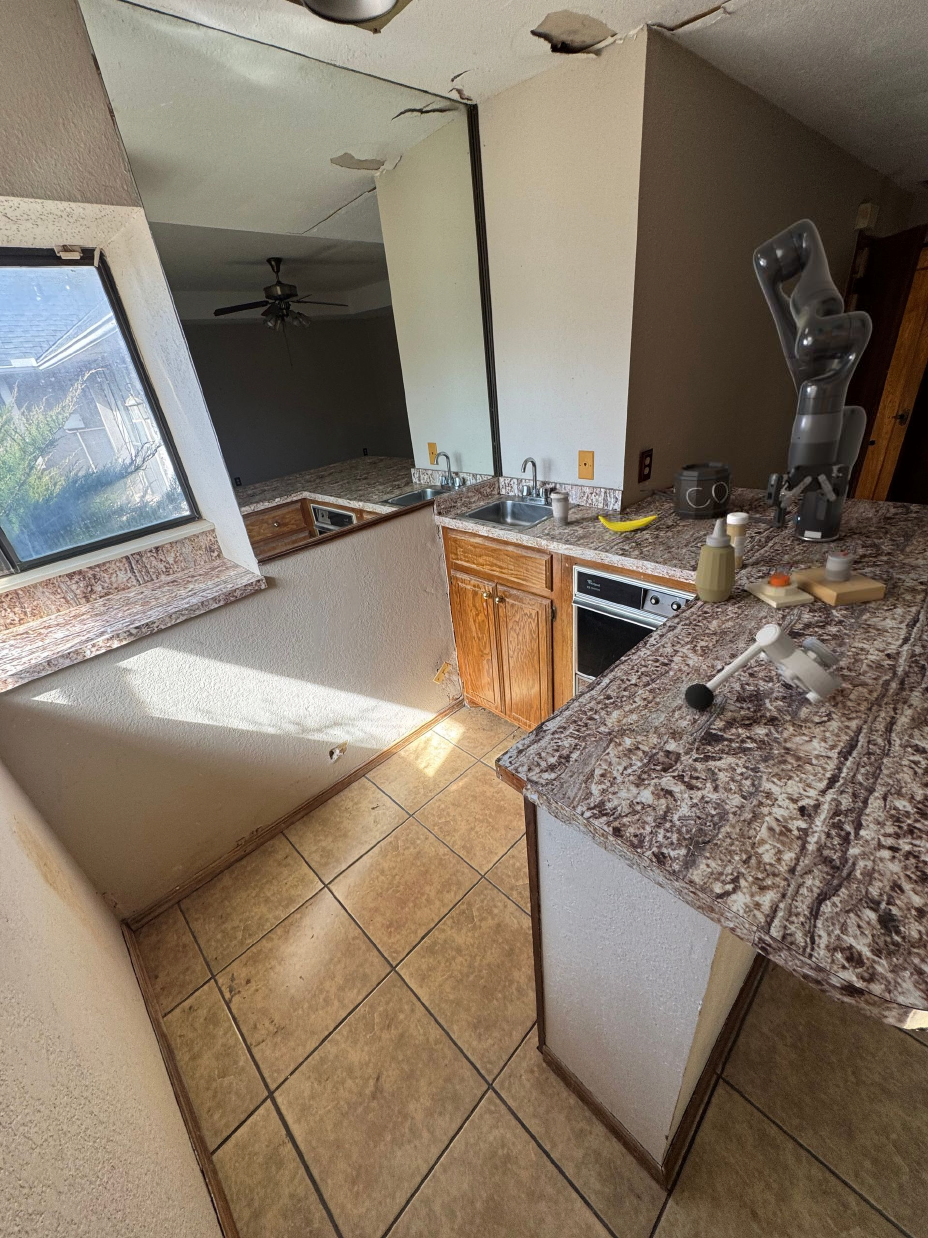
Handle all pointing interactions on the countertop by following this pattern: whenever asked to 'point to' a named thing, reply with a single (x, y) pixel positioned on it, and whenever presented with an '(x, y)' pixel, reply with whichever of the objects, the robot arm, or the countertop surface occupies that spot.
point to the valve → (789, 661)
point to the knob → (839, 566)
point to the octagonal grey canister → (703, 490)
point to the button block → (779, 593)
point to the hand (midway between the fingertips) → (800, 521)
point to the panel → (838, 587)
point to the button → (779, 580)
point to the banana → (626, 524)
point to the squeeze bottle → (716, 566)
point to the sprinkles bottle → (737, 534)
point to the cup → (560, 507)
